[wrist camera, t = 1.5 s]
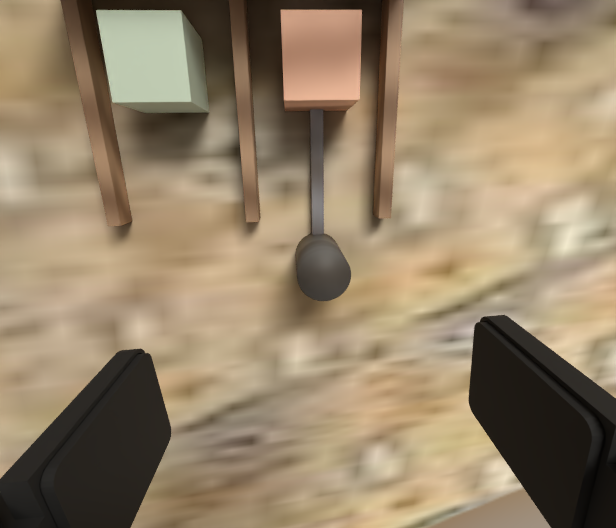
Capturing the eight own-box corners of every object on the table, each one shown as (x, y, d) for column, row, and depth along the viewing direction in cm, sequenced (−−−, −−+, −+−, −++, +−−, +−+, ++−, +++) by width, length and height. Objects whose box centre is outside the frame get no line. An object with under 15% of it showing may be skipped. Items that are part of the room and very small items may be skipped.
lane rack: (384, 214, 29) (417, 233, 21) (120, 221, 28) (57, 244, 20) (396, -26, 24) (447, -114, 16) (71, -28, 23) (-40, -123, 15)
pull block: (344, 273, 31) (356, 299, 25) (291, 275, 30) (291, 302, 25) (348, 38, 25) (365, 2, 19) (282, 38, 25) (280, 2, 19)
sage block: (209, 112, 26) (191, 101, 21) (145, 113, 26) (112, 102, 21) (202, 39, 24) (180, 10, 20) (133, 39, 24) (95, 9, 19)
